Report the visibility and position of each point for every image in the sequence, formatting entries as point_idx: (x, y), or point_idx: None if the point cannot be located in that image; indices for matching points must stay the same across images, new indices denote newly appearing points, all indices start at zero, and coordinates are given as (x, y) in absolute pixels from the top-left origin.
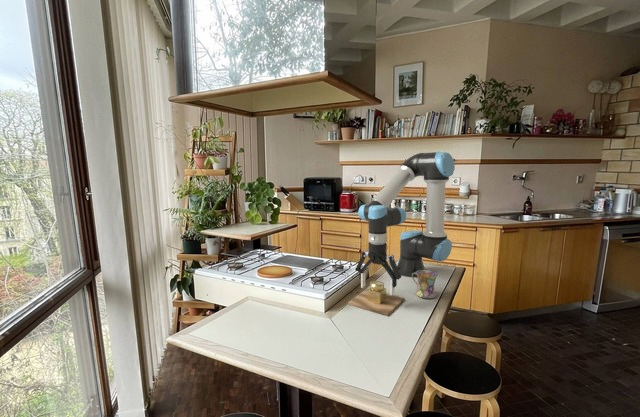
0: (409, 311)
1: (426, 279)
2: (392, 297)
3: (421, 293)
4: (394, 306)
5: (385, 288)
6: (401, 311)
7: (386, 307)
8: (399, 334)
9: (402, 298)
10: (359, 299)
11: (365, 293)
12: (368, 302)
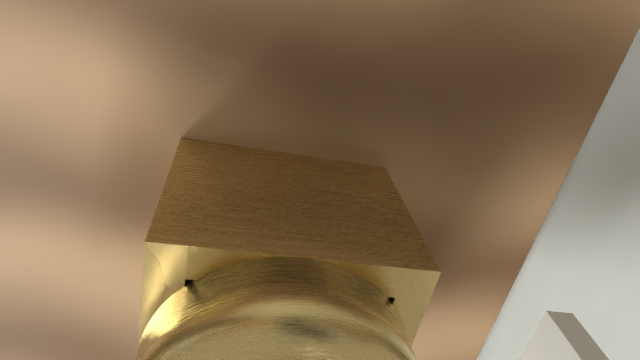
0: (631, 267)
1: None
2: (470, 67)
3: None
4: (498, 297)
5: (428, 286)
6: (553, 297)
7: (417, 346)
8: None
9: (617, 44)
10: (55, 309)
11: (13, 94)
12: None
